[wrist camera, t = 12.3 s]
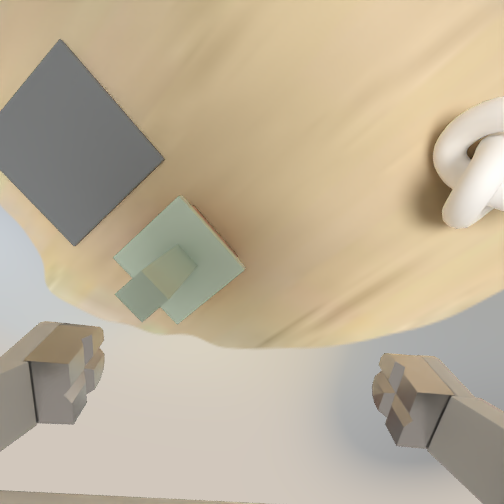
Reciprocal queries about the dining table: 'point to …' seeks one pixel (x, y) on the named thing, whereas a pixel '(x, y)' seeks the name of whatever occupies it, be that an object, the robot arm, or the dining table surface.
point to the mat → (71, 145)
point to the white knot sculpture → (472, 163)
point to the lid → (175, 264)
